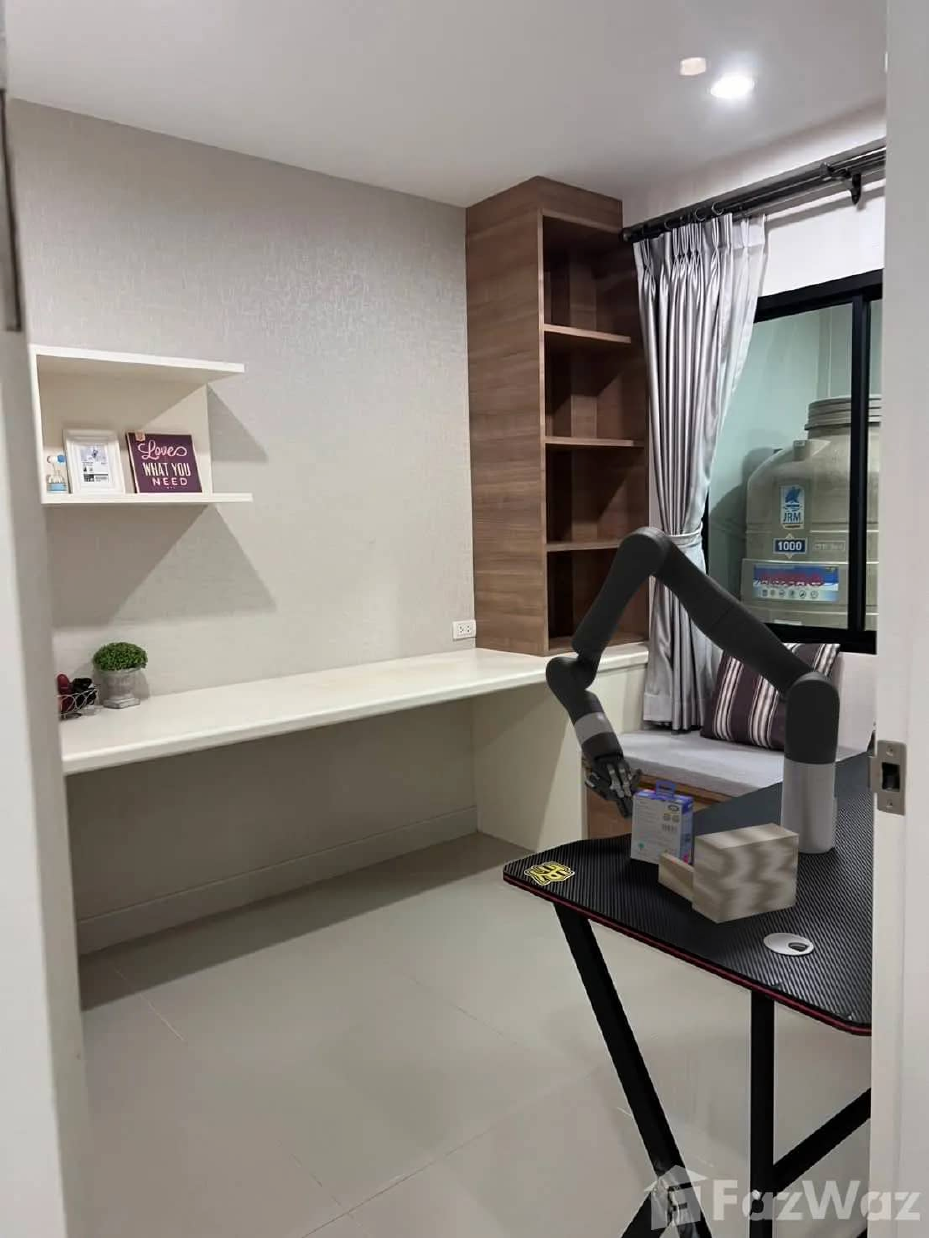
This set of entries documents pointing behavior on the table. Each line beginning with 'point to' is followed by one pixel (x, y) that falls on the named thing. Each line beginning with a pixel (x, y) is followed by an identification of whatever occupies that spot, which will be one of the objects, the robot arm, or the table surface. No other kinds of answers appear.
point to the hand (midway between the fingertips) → (630, 817)
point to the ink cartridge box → (661, 824)
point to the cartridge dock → (737, 872)
